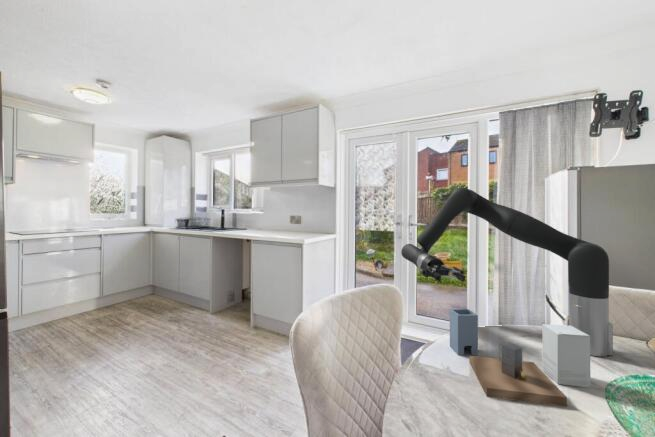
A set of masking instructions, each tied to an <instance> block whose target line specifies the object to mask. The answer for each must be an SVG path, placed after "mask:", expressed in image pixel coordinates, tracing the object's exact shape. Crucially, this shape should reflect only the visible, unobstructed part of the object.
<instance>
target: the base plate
mask: <svg viewBox="0 0 655 437" xmlns="http://www.w3.org/2000/svg"><path fill="white" fill-rule="evenodd" d="M469 364H470V367H471V368H472V370H473V372H474V374H475V376H476V379H477V380H478V382H479V384H480V386H481V388H482V390H483V392H484V394H485V396H486V397H488V398H489V397H490V398H496V399H504V400H512V401H520V402H530V403H536V404H545V405H551V406H559V407H560V406H561V407H568V396H566V394H564V393H563V392H562V390H560V389H559V387H558V386H557V385H556V384H555V383H554V382H553V381H552V380H551V379H550V378H549V377H548V375H547V374H545V372H544V371H543V370H541V369H540V368H539V366H538V365H536V363H535V362H533V361H526V360H524V361H523V360H522V370H525V371H526V380H525V381H524V380H521V379H520V377H517V378H515V379H514V378H512V377H510V376H508V375H506V374H504V373H502V358H494V357H492V358H491V357H484V356H476V355H469Z"/></svg>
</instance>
